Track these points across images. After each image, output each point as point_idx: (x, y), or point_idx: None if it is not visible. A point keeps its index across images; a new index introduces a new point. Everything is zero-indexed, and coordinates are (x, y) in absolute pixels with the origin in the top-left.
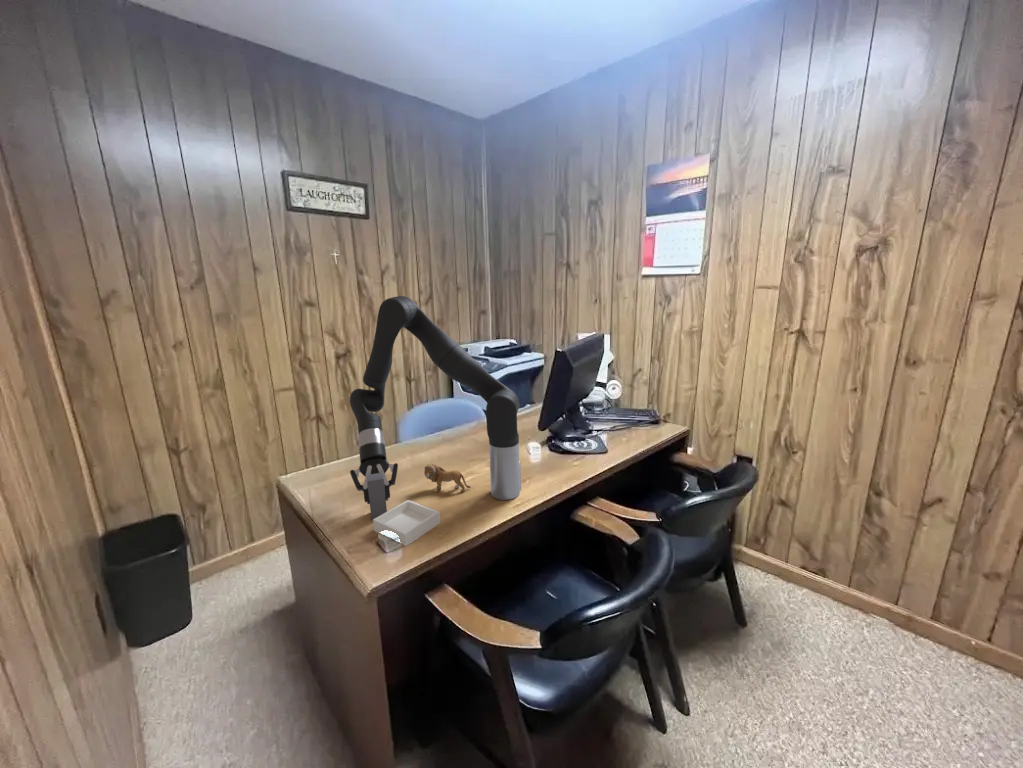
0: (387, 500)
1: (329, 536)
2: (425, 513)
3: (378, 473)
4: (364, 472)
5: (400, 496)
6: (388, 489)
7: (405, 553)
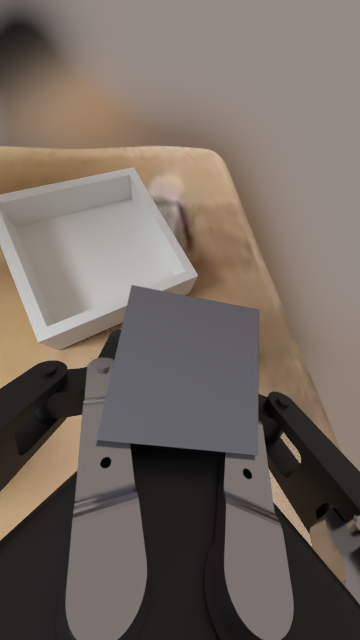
0: None
1: (291, 330)
2: (25, 258)
3: (145, 435)
4: (287, 523)
5: (38, 494)
6: (107, 350)
7: (143, 181)
